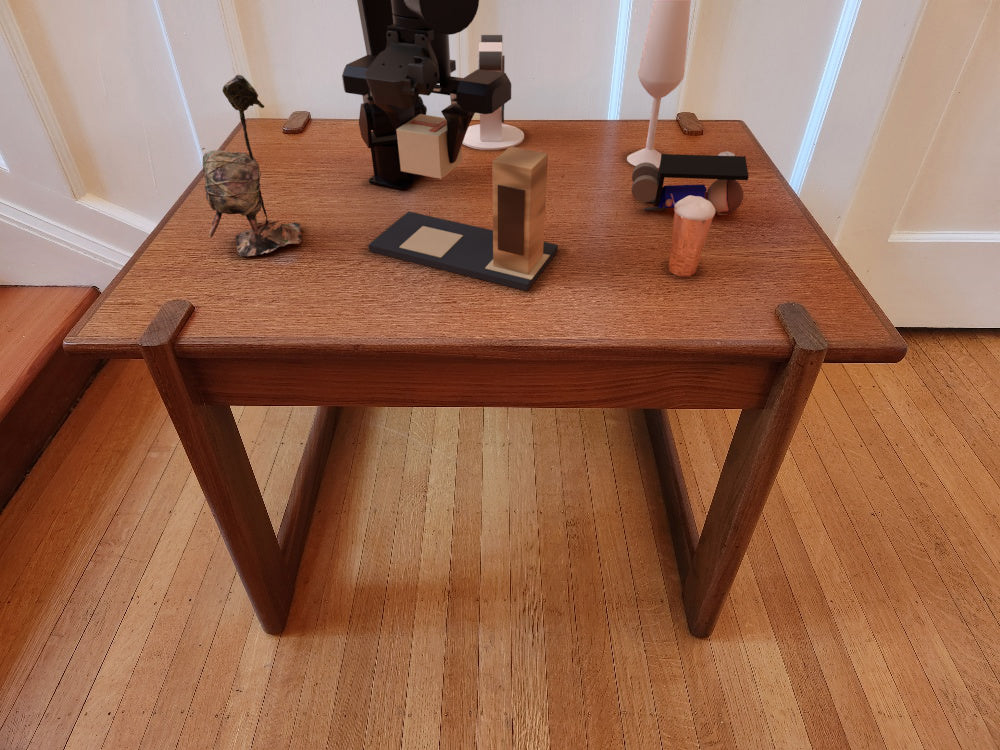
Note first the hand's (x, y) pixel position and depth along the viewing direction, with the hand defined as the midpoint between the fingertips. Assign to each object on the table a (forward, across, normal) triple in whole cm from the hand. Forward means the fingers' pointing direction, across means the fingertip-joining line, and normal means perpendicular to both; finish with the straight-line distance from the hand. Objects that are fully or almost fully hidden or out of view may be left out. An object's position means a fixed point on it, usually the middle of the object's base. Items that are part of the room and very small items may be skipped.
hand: (431, 158), depth 77 cm
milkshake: (+11, +30, +6) cm, 33 cm away
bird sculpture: (+11, -20, -10) cm, 25 cm away
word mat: (+11, +4, -1) cm, 12 cm away
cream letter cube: (+1, 0, 0) cm, 1 cm away
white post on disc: (+11, -8, +35) cm, 37 cm away
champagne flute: (+11, +19, +37) cm, 43 cm away
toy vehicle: (+11, +28, +22) cm, 37 cm away
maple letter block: (+10, +13, -2) cm, 16 cm away
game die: (+11, +31, +36) cm, 49 cm away
